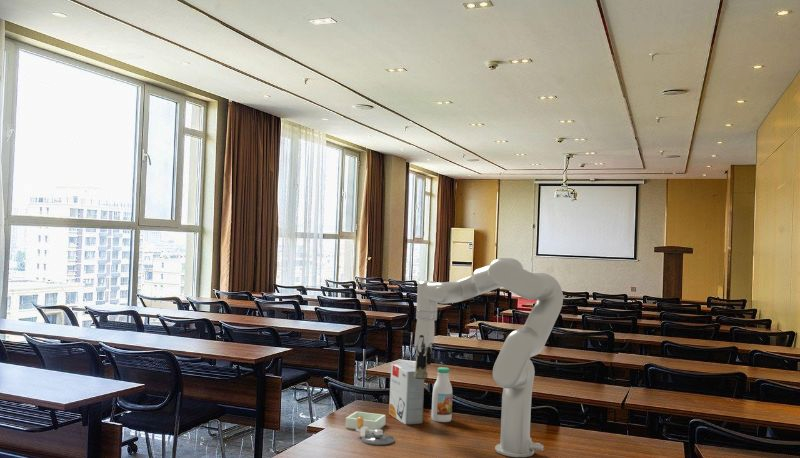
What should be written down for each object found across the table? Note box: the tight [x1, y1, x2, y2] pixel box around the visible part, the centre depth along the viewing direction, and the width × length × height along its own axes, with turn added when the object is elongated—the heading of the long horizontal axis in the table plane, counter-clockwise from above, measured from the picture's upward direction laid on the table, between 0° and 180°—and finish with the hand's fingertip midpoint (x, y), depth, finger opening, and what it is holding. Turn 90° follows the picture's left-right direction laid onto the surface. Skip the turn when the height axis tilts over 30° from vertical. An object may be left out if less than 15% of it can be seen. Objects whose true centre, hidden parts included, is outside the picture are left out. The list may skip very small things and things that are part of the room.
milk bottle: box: [431, 366, 453, 423], centre depth 257 cm, size 8×8×20 cm
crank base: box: [359, 426, 395, 446], centre depth 225 cm, size 12×11×4 cm
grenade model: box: [414, 343, 435, 380], centre depth 240 cm, size 6×7×15 cm
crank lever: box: [355, 417, 384, 438], centre depth 227 cm, size 10×3×5 cm, turn 58°
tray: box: [344, 411, 387, 430], centre depth 243 cm, size 12×11×4 cm
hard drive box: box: [388, 363, 425, 426], centre depth 256 cm, size 16×8×20 cm, turn 25°
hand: (424, 365), depth 240 cm, fingers closed on grenade model, 5 cm apart
